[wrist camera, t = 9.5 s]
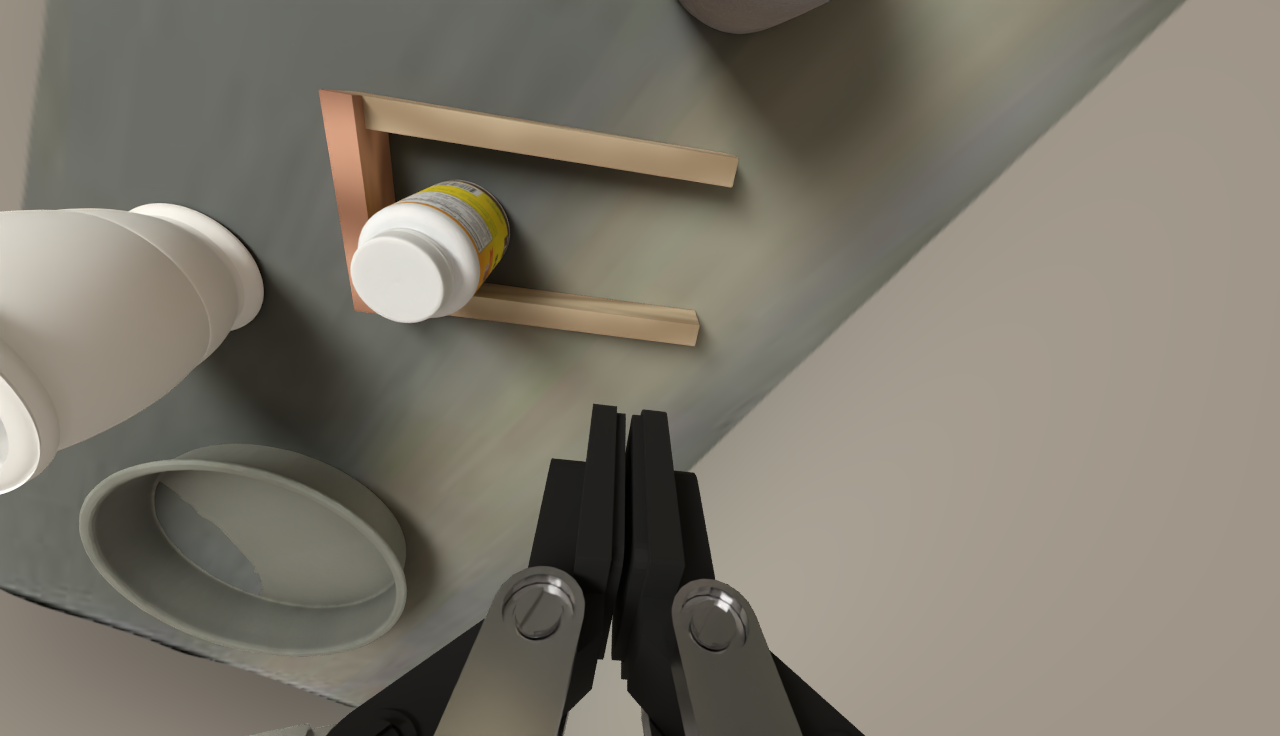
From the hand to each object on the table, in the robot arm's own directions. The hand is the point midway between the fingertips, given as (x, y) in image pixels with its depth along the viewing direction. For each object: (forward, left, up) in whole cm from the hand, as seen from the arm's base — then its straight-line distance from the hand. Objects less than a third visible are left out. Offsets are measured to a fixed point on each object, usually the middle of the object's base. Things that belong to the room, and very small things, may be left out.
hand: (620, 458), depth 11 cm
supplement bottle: (+1, -10, -22) cm, 24 cm away
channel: (0, -5, -21) cm, 22 cm away
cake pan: (+31, -27, -22) cm, 47 cm away
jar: (+6, -27, -22) cm, 35 cm away
